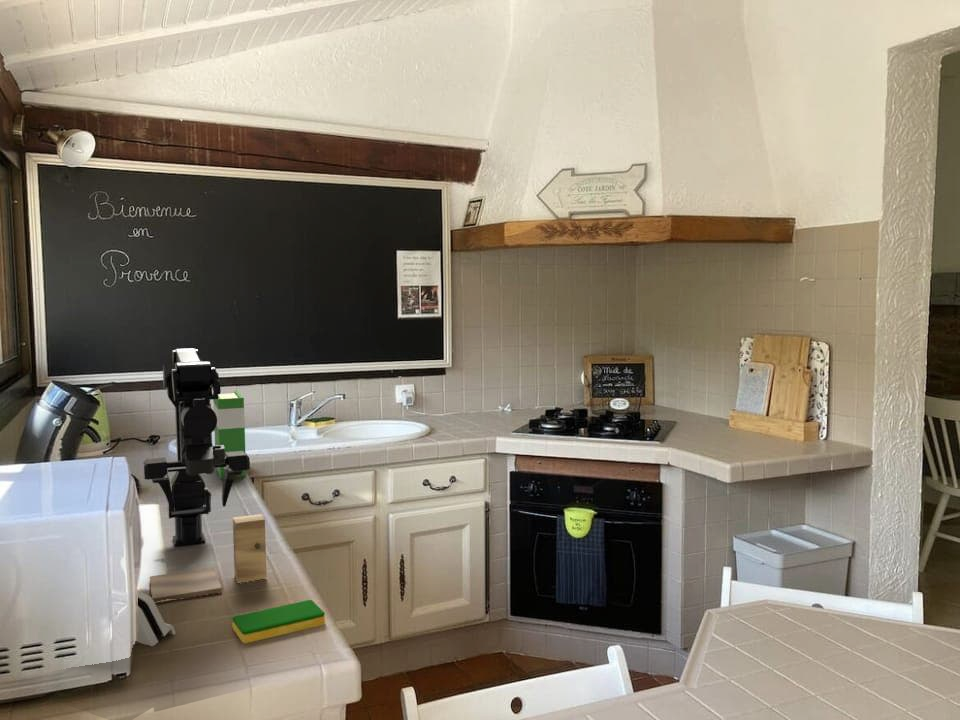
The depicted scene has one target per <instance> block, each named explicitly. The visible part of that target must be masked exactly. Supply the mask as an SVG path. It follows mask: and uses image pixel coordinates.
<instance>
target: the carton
mask: <svg viewBox="0 0 960 720" xmlns="http://www.w3.org/2000/svg"><path fill="white" fill-rule="evenodd" d="M212 394H214V393H213V392H212ZM244 400H245V399H244V396H243V395H242V394H241V393H240V392H239V391H238V390H234V393H233V392H232V393H220V394H218V399H213V411H214V412H215V414H216V416H217V425H216V428H215V429H214V431H213V432H214V446H217V445H224V449H225V452H235V451H244V452H245V453H246V427H245V401H244ZM216 471H217V473H218V475H219V478H220V479H221V480H223V472H224V467H217V468H216ZM242 471H243V474H241V475H238V476H237V477H236V478H244V477H247V470H242Z"/></svg>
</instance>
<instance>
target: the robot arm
mask: <svg viewBox="0 0 960 720" xmlns="http://www.w3.org/2000/svg"><path fill="white" fill-rule="evenodd" d="M171 355H172V356H171V357H170V358H169V359H167V360H166V361H165V362H164V363H163V365H162V366H163V367H162V383H163V389H166V395H167V397H168V399H169V401H170V402H171V403H172V405H173V406H174V414H175V415H174V416H175V437H176V438H175V439H176V440H175V441H176V445H175V446H176V447H175V448H176V460H175V461H167V459H166V457H156V458H146V459H145V460H144V461H143V462H142V466H143V476H144V480H151V482H152V484H158V485H159V487H160V488H161V489H162V491H163V493H164V495H165V499H166V501H167V503H166V508H167V516H168V519H173V518H174V533H175V535H173V536H172V541H173V545H174V546H175V547H178V546H179V547H180V546H186V545H194V544H203V543H206V540H207V539H206V537H205V534H204V532H203V521H202V520H203V517H202V515H209V513H210V512H212V510H211V509H212V507H211V505H212V504H211V500H212V493H211V492H210V491H209V488H208V487H207V486H206V482H205V481H204V478H203V477H202V474H205V475H210V474H213V473H215V468H217V467H224V472H223V479H222V493H221V494H222V495H221V501H222V507H226V506H227V502H228V498H229V495H230V493H231V488H232V487H233V484H234V483H235V480H236V478H238V477H237V476H238V475H241V474H243V471H242V470H246V471H248V470H250V469H251V464H250V463H251V461H250V457H249V455H248V454H247V452H246V451H245V452H244V451H235V452H225V449H224V445H217V446H215V445H213V432H214V429H215V428H216V425H217V416H216V414H215V412H214V409H213V408H212V405H211V404H212V403H211V400H213V399H218V394H222V393H221V382H220V377H219V376H220V375H219V373H218V372H217V369H216V367H213V366H212V363H211V362H210V361H209V360H208V361H205V360H202V359H201V358H200V357H199V350H198V349H196V348H194V347H193V348H176V349H174V350H172V353H171ZM213 393H214V394H213ZM171 472H172V473H174V472H175V474H174V475H173V476H172V479H170V477H169V473H171Z"/></svg>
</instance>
